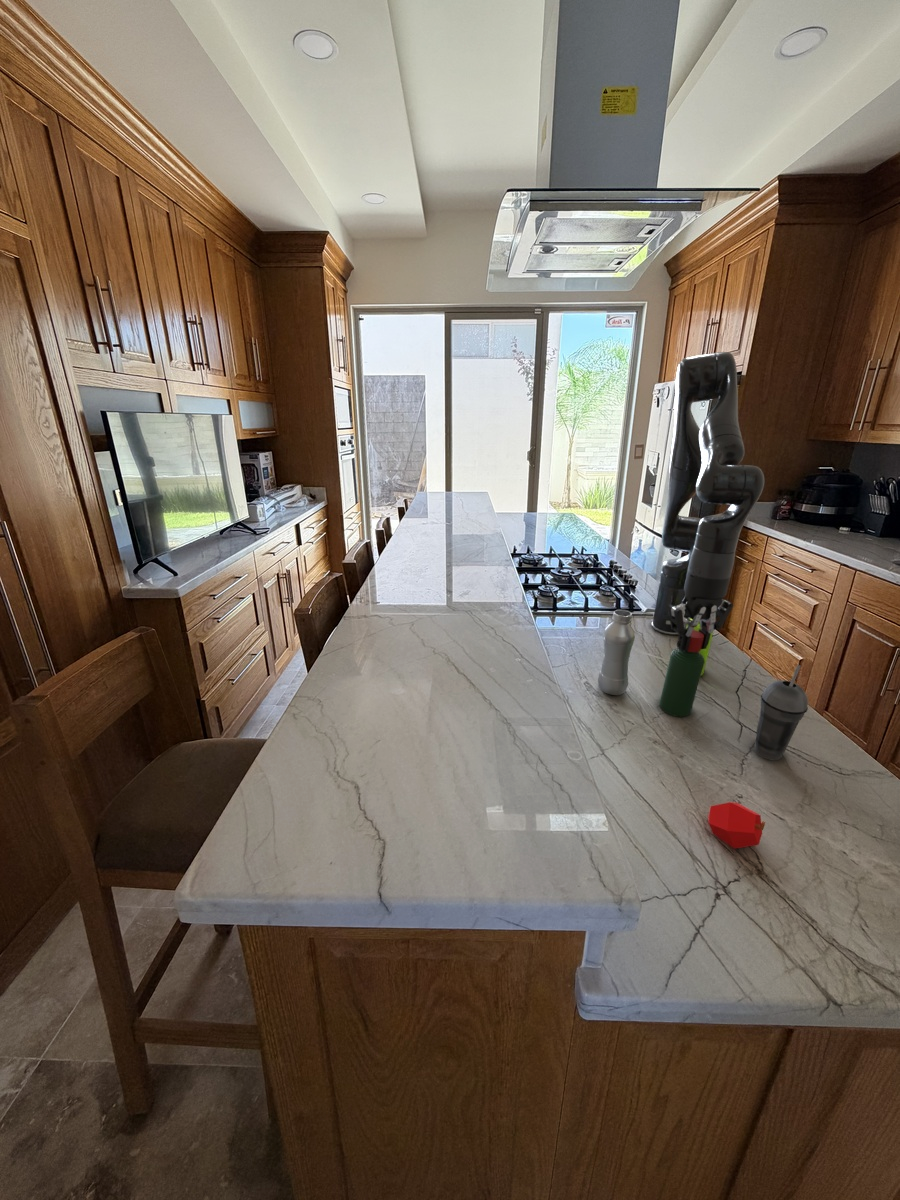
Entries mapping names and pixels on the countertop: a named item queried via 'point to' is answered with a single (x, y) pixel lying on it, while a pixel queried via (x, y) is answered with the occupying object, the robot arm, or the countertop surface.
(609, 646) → the plastic bottle
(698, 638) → the cap
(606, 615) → the countertop surface
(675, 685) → the oil bottle
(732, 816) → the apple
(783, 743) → the beverage cup
